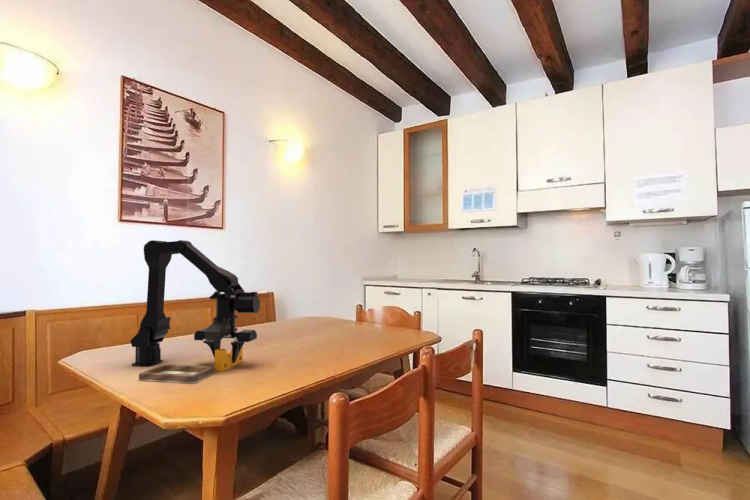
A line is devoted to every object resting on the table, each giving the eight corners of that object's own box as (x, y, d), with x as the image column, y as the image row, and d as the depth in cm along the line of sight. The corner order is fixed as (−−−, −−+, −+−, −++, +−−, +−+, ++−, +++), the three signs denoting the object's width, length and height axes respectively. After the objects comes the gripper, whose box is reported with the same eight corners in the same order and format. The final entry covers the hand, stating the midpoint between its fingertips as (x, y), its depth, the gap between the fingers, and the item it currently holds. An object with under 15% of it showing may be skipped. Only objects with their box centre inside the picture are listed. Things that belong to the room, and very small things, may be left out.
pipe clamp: (230, 361, 130) (230, 341, 130) (242, 361, 129) (242, 342, 129) (209, 371, 118) (209, 349, 118) (222, 371, 117) (222, 350, 117)
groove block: (138, 380, 108) (138, 373, 108) (163, 370, 118) (163, 364, 118) (194, 383, 106) (194, 376, 106) (215, 373, 116) (215, 366, 116)
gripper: (182, 316, 118) (182, 368, 117) (240, 317, 115) (240, 370, 114) (204, 311, 129) (204, 358, 128) (257, 312, 126) (257, 360, 125)
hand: (225, 362), depth 124 cm, fingers open, 5 cm apart
